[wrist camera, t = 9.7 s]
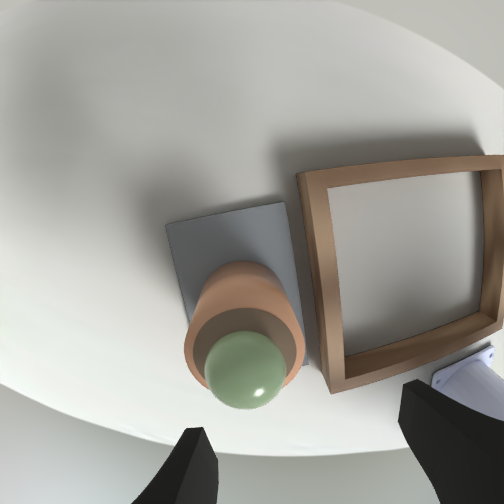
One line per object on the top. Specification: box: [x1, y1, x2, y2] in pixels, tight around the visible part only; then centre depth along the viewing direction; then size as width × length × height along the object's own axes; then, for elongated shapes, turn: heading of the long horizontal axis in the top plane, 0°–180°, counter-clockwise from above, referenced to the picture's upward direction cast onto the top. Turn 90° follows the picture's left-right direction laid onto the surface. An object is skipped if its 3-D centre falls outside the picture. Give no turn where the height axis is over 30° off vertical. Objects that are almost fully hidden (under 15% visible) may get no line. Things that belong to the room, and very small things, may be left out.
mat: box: [165, 202, 309, 366], centre depth 18 cm, size 11×7×1 cm, turn 10°
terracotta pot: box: [184, 261, 305, 409], centre depth 14 cm, size 5×5×9 cm
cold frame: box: [296, 155, 504, 394], centre depth 17 cm, size 14×16×2 cm
